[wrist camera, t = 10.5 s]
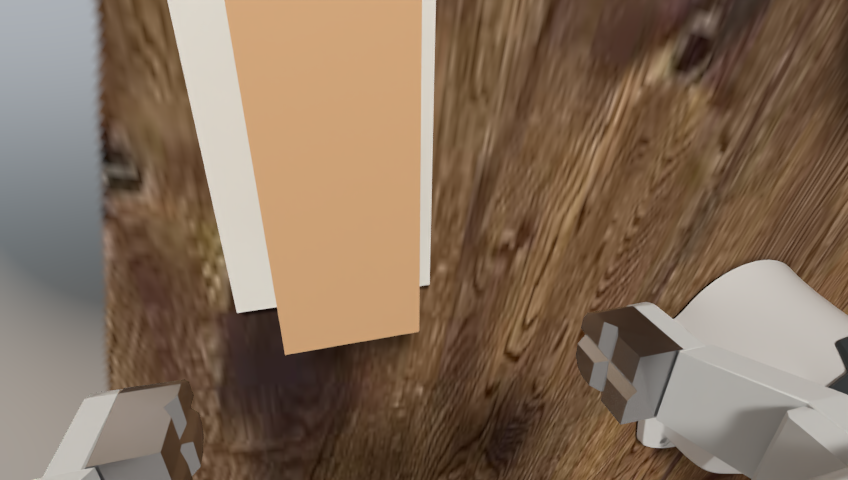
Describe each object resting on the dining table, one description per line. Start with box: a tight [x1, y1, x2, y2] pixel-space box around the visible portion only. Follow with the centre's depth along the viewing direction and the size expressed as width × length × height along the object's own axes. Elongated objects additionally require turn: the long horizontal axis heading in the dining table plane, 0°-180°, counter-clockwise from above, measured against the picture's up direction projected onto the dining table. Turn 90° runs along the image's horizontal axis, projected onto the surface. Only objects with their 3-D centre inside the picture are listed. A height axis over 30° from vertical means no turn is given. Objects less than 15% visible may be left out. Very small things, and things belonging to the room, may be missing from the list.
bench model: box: [224, 0, 422, 355], centre depth 20 cm, size 14×6×8 cm, turn 179°
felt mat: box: [167, 0, 436, 313], centre depth 24 cm, size 20×12×1 cm, turn 179°
